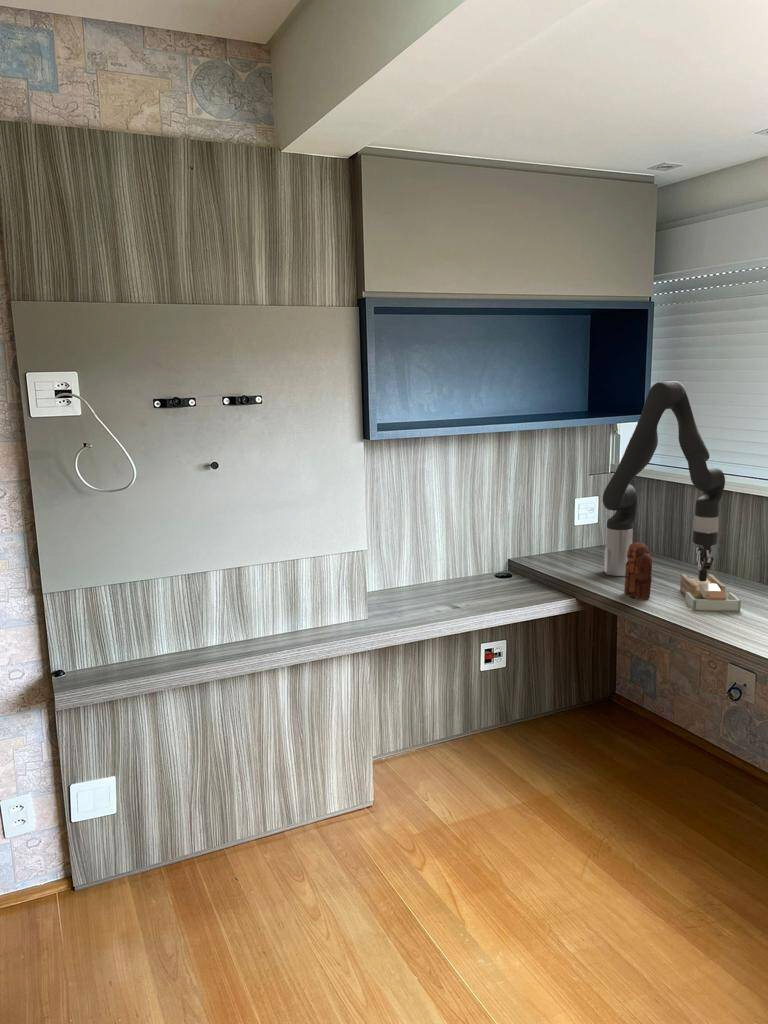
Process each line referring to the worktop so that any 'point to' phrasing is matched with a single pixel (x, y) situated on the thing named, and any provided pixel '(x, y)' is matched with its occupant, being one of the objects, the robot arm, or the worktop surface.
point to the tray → (713, 604)
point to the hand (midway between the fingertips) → (702, 580)
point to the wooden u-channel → (697, 585)
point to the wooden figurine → (638, 571)
